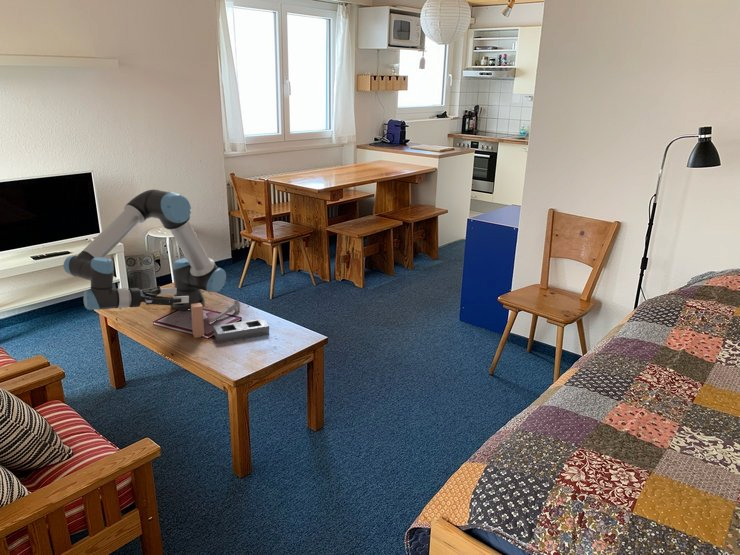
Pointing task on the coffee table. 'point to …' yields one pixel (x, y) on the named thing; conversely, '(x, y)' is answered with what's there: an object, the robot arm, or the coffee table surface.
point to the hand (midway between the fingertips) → (182, 295)
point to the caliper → (228, 310)
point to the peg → (197, 320)
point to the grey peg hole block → (240, 330)
